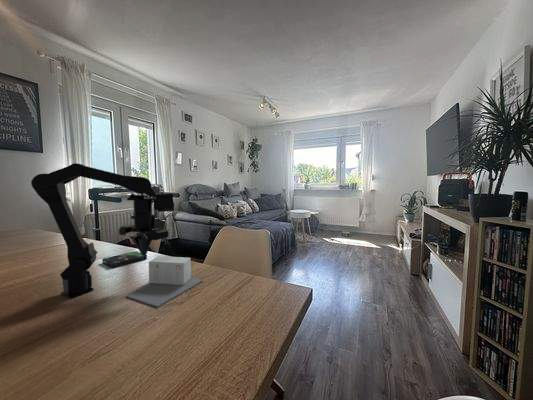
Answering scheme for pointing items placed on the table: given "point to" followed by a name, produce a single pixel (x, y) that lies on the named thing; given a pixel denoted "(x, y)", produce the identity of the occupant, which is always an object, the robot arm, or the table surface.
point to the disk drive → (123, 259)
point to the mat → (161, 292)
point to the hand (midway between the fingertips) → (144, 255)
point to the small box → (169, 270)
